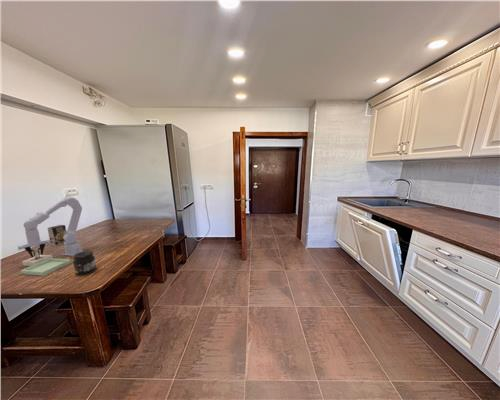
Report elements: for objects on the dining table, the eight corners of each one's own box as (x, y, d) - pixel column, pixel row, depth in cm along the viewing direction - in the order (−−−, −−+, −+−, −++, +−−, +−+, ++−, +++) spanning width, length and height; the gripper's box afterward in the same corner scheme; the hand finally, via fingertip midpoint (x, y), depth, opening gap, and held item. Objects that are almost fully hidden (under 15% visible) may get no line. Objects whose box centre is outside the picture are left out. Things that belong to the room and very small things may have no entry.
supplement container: (74, 271, 118) (71, 253, 116) (95, 265, 125) (93, 248, 123) (75, 278, 111) (71, 259, 109) (97, 271, 118) (94, 253, 116)
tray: (71, 262, 129) (70, 259, 128) (43, 276, 113) (42, 272, 112) (51, 261, 131) (50, 258, 130) (21, 274, 115) (20, 270, 114)
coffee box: (56, 246, 156) (52, 228, 153) (50, 245, 157) (46, 227, 154) (68, 242, 164) (65, 224, 162) (63, 241, 166) (59, 224, 163)
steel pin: (44, 259, 131) (41, 247, 130) (37, 262, 127) (34, 250, 126) (39, 259, 132) (36, 247, 130) (32, 262, 128) (29, 250, 126)
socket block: (52, 259, 134) (52, 255, 133) (35, 266, 124) (34, 262, 124) (41, 258, 135) (40, 254, 135) (23, 265, 125) (22, 261, 125)
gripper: (47, 233, 135) (51, 250, 137) (16, 239, 123) (20, 258, 126) (49, 235, 130) (52, 253, 133) (16, 241, 119) (21, 261, 121)
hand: (37, 255), depth 129 cm, fingers closed on steel pin, 4 cm apart
